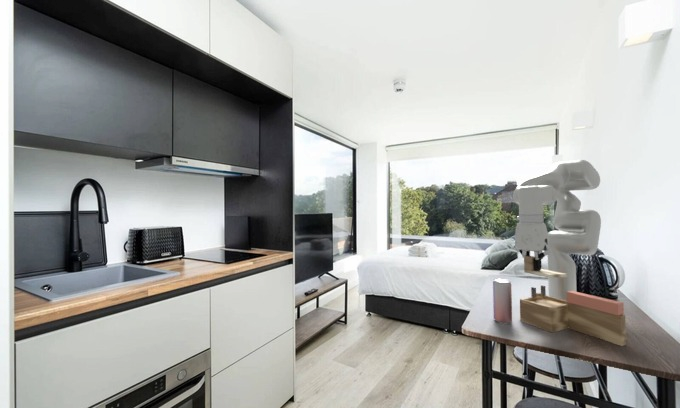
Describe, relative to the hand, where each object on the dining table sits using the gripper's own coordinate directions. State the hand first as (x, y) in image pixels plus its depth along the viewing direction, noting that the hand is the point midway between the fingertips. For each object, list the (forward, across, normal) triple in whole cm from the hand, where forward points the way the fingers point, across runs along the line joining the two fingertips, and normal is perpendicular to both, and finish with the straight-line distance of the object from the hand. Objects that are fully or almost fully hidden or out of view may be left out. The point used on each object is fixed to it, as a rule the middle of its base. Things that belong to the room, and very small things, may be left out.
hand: (532, 268), depth 106 cm
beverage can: (+19, -5, -11) cm, 22 cm away
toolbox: (+19, +10, +2) cm, 22 cm away
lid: (+2, +3, +2) cm, 4 cm away
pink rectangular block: (+10, +16, +6) cm, 20 cm away
